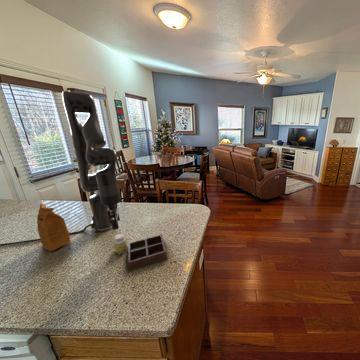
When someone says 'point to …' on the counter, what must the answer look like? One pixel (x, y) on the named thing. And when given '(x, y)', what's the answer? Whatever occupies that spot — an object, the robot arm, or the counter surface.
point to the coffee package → (51, 229)
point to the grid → (146, 252)
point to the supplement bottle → (120, 244)
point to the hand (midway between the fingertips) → (116, 224)
